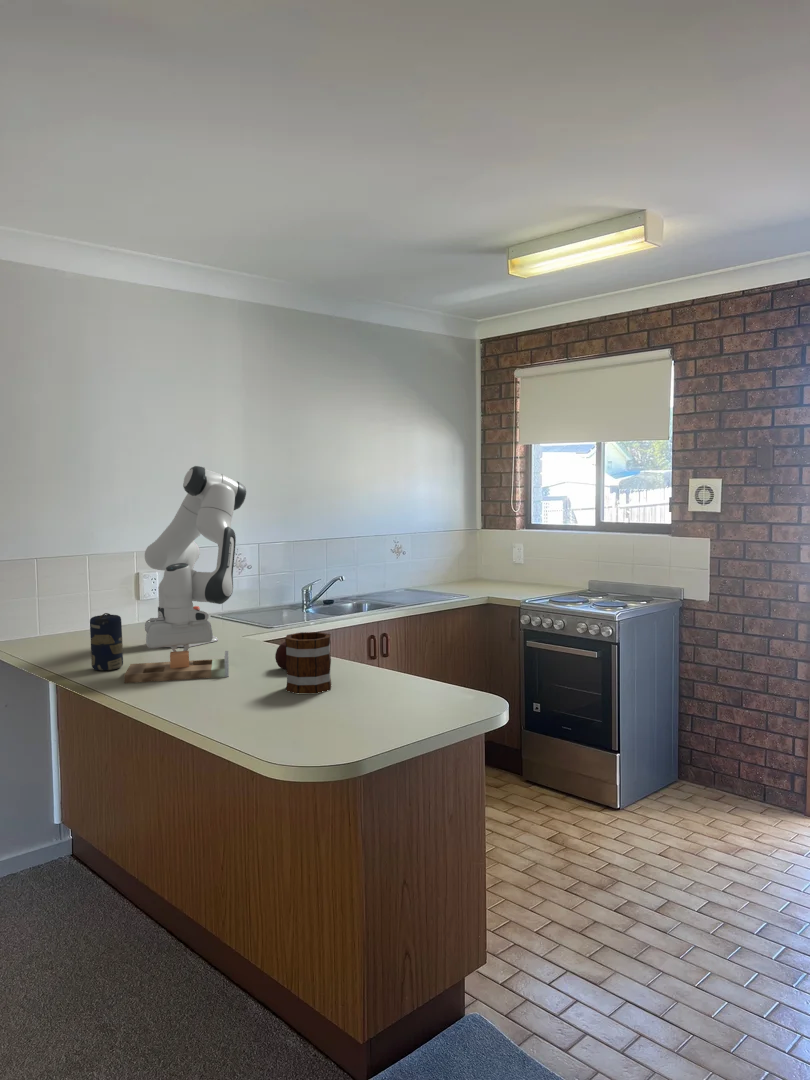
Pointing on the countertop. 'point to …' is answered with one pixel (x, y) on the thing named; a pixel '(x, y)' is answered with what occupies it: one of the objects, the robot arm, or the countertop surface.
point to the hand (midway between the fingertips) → (180, 659)
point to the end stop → (226, 664)
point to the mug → (308, 662)
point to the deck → (174, 671)
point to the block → (179, 659)
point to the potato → (281, 656)
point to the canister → (106, 642)
